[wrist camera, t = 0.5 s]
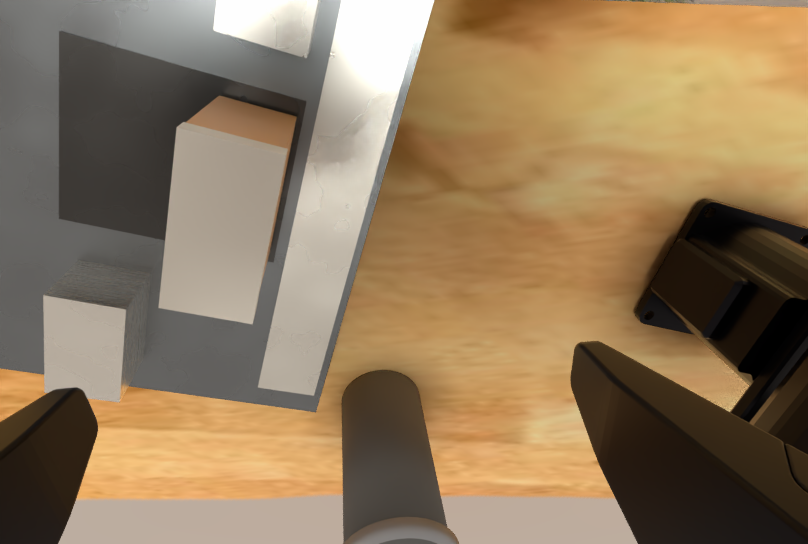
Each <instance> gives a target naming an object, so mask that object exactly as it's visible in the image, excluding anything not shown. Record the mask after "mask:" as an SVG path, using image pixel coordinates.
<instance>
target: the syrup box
mask: <svg viewBox="0 0 808 544" xmlns="http://www.w3.org/2000/svg"><path fill="white" fill-rule="evenodd" d="M606 1H631V2H636V1H642V2H658V3H670V2H672V3H690V4H718V5H755V6H779V7H808V0H606Z"/></svg>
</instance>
